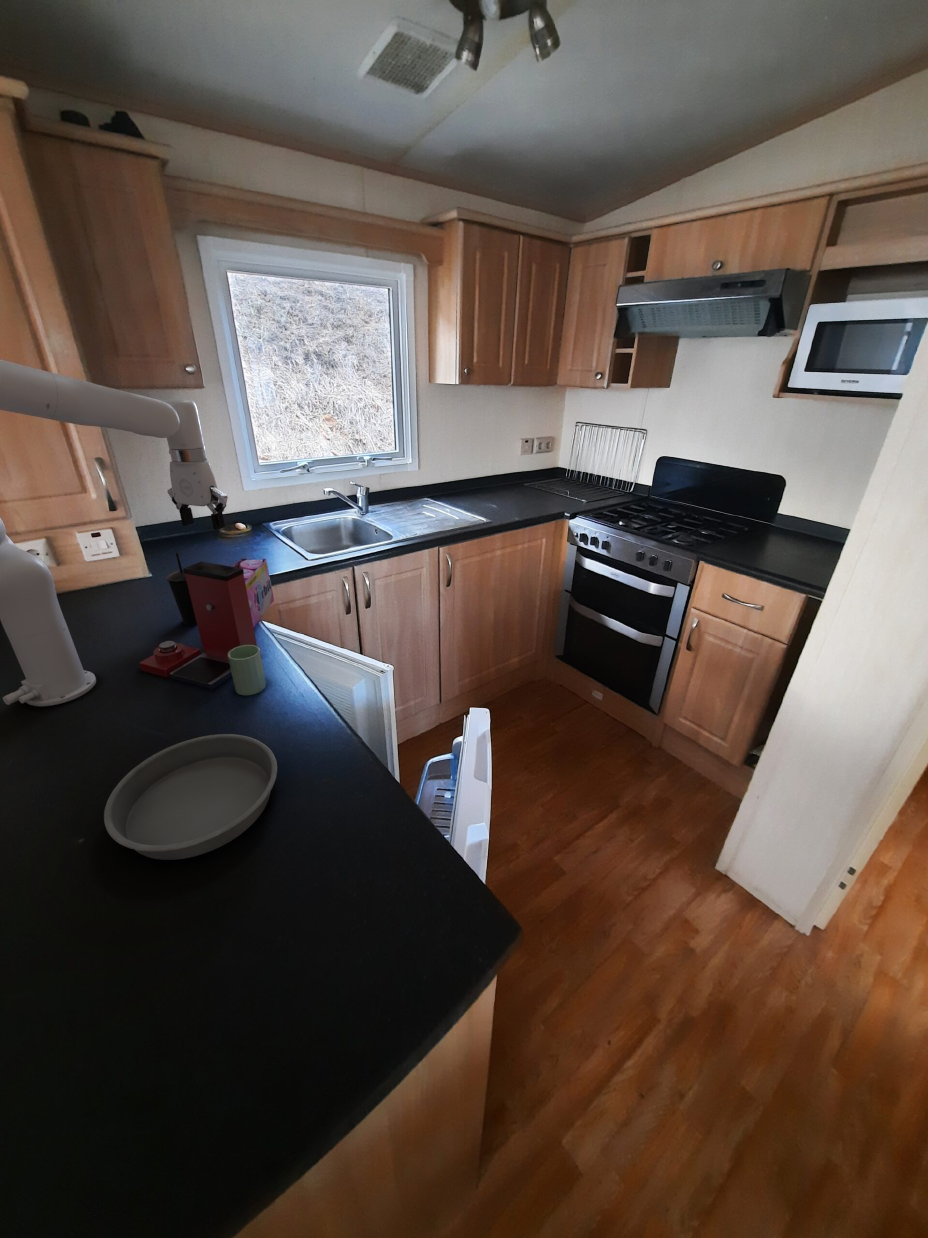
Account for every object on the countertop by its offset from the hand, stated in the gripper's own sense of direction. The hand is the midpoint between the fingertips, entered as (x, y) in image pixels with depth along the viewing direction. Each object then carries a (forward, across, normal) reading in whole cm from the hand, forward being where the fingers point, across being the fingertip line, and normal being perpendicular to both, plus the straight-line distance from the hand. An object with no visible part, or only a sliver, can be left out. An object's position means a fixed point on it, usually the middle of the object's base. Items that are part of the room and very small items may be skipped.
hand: (203, 526), depth 127 cm
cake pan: (+28, +42, -53) cm, 73 cm away
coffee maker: (+28, +14, -19) cm, 37 cm away
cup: (+28, +27, -22) cm, 45 cm away
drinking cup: (+28, -9, -2) cm, 29 cm away
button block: (+28, +3, -21) cm, 35 cm away
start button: (+24, +3, -21) cm, 32 cm away
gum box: (+28, +3, +6) cm, 29 cm away
